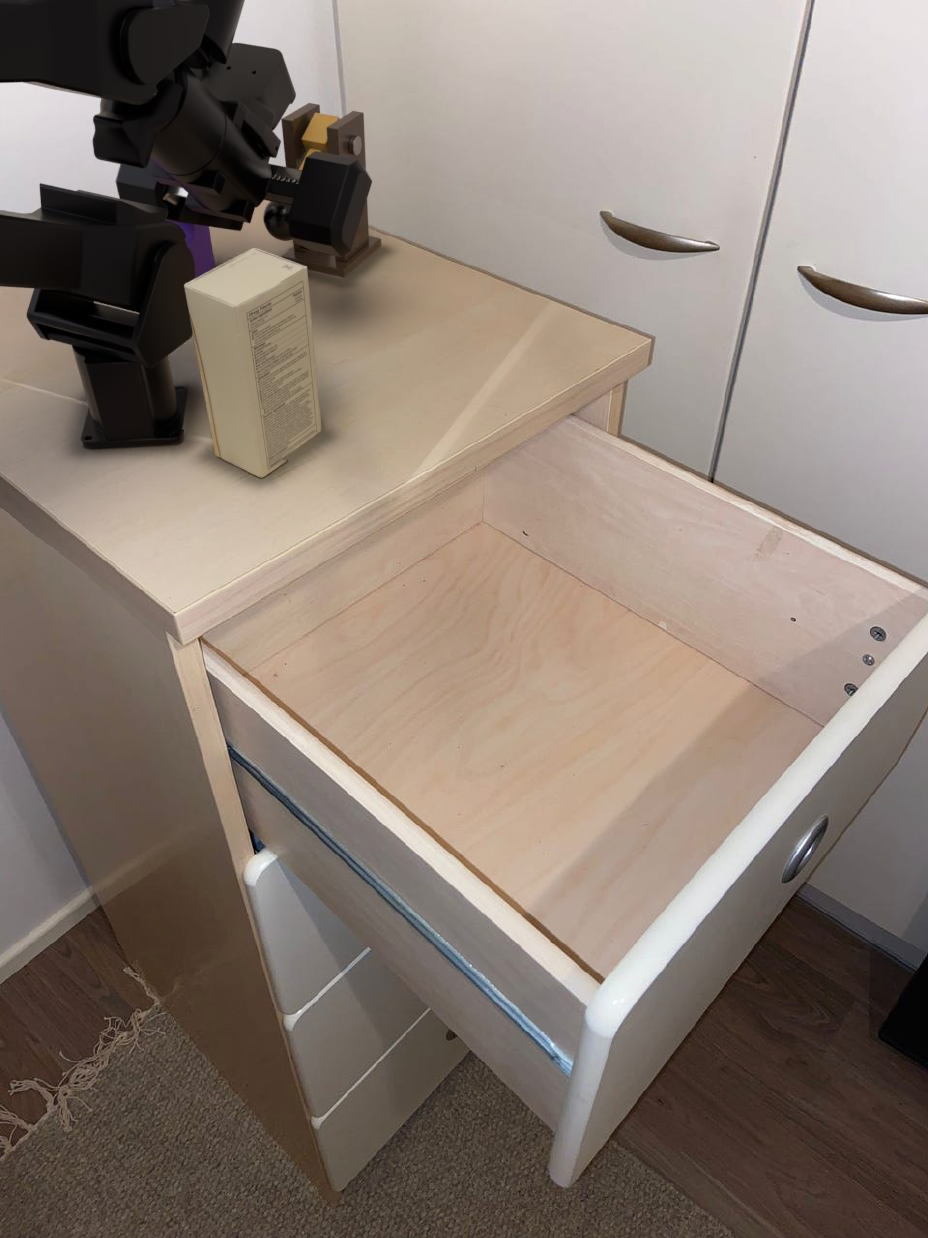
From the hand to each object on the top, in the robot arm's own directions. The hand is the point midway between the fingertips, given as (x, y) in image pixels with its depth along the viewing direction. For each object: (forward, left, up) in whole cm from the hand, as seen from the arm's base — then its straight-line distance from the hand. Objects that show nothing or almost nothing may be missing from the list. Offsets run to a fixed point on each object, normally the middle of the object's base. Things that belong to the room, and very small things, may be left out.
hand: (290, 235), depth 78 cm
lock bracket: (+5, -3, -5) cm, 8 cm away
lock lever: (+3, -2, +2) cm, 4 cm away
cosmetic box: (-23, +2, -5) cm, 23 cm away
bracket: (+4, +14, -5) cm, 15 cm away
